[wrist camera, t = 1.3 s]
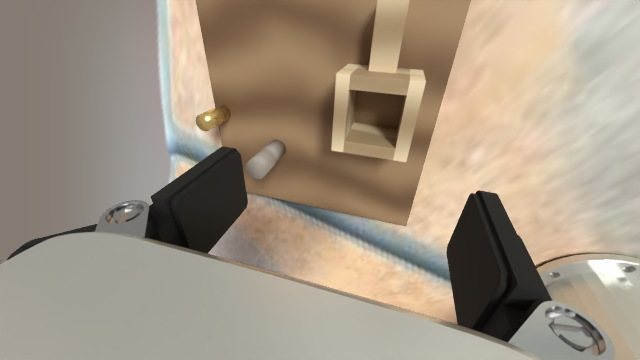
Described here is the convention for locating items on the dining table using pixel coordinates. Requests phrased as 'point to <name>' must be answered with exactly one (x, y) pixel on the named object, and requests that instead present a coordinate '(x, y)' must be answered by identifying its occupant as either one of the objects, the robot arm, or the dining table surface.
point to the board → (322, 96)
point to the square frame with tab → (379, 91)
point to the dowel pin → (213, 117)
